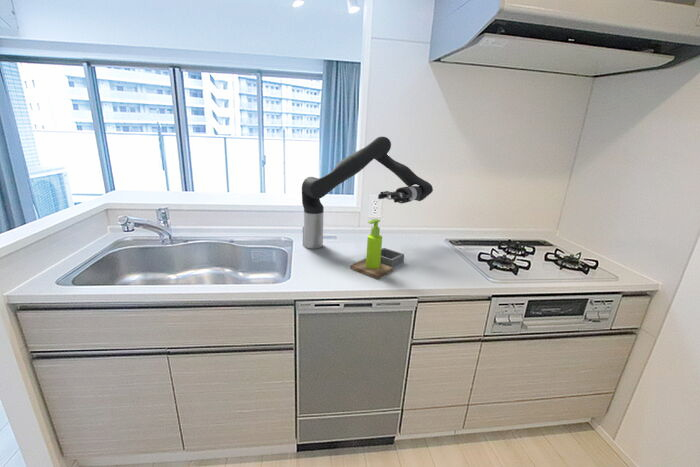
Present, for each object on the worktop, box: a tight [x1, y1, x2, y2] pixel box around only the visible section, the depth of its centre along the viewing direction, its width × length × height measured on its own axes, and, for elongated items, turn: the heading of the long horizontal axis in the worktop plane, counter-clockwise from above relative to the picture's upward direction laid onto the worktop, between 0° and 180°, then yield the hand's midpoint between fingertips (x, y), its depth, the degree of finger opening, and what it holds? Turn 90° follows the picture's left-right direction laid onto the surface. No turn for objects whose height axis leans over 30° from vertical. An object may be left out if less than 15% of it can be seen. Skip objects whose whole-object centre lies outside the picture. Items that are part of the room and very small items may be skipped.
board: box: [349, 258, 394, 280], centre depth 132 cm, size 14×11×2 cm
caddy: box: [380, 247, 405, 269], centre depth 140 cm, size 11×10×4 cm
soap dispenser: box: [365, 218, 383, 269], centre depth 128 cm, size 6×7×20 cm
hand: (386, 198), depth 141 cm, fingers open, 8 cm apart
